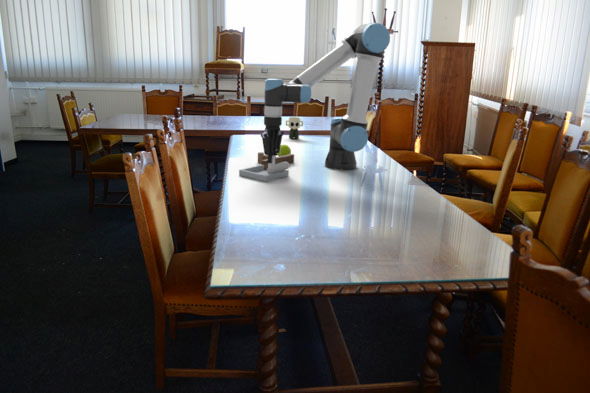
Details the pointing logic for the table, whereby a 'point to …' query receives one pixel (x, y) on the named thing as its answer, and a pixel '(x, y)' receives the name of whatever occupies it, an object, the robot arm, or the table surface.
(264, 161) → the t rack
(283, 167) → the donut
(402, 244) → the table surface
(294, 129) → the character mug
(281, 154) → the tennis ball
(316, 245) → the table surface
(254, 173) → the tray
